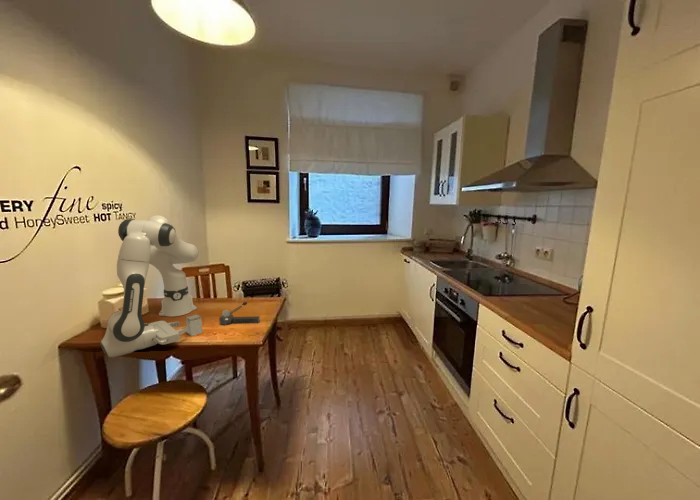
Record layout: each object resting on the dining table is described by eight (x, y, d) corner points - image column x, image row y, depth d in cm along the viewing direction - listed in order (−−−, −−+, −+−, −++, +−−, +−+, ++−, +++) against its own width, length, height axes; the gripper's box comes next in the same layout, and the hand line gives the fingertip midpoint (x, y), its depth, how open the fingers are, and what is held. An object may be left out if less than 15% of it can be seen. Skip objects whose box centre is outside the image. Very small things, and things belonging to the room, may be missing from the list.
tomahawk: (233, 319, 167) (233, 317, 167) (222, 316, 169) (222, 315, 169) (254, 305, 187) (254, 303, 187) (244, 303, 189) (244, 301, 188)
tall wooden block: (186, 332, 148) (185, 317, 147) (198, 329, 152) (196, 314, 151) (191, 336, 145) (189, 320, 143) (202, 332, 149) (201, 316, 147)
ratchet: (217, 325, 157) (216, 313, 155) (222, 320, 163) (221, 308, 162) (257, 324, 158) (256, 312, 156) (260, 319, 164) (259, 307, 163)
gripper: (155, 337, 127) (191, 326, 137) (141, 323, 140) (174, 314, 150) (157, 351, 128) (192, 339, 138) (143, 335, 141) (175, 326, 151)
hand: (182, 326), depth 144 cm, fingers open, 8 cm apart
